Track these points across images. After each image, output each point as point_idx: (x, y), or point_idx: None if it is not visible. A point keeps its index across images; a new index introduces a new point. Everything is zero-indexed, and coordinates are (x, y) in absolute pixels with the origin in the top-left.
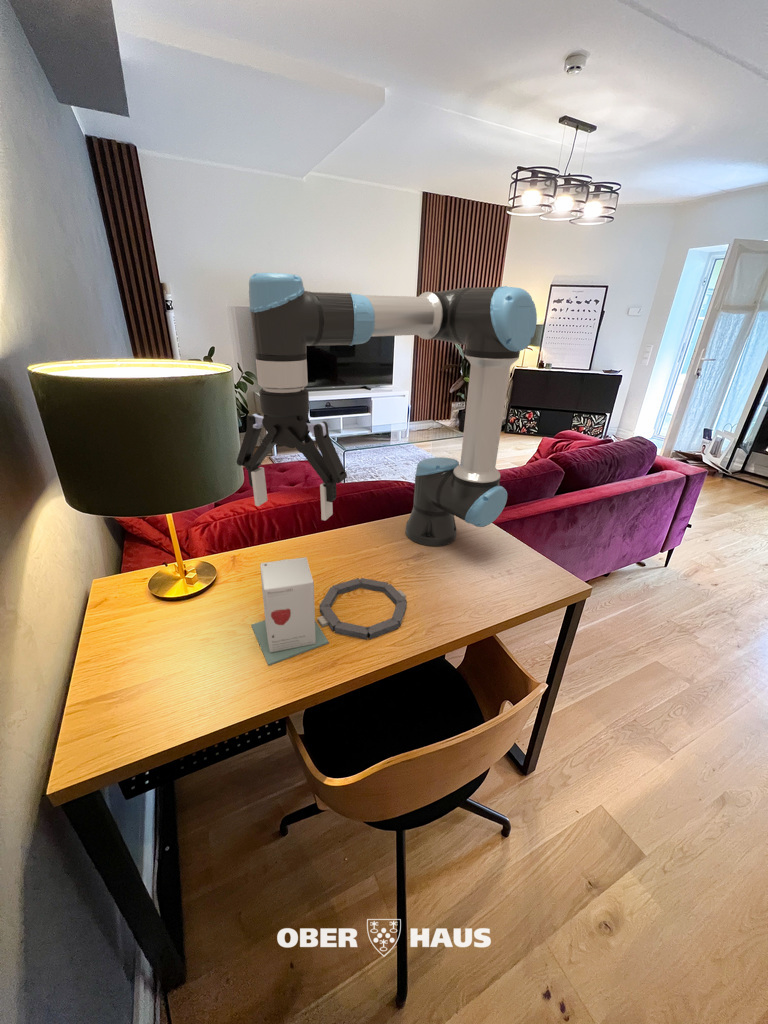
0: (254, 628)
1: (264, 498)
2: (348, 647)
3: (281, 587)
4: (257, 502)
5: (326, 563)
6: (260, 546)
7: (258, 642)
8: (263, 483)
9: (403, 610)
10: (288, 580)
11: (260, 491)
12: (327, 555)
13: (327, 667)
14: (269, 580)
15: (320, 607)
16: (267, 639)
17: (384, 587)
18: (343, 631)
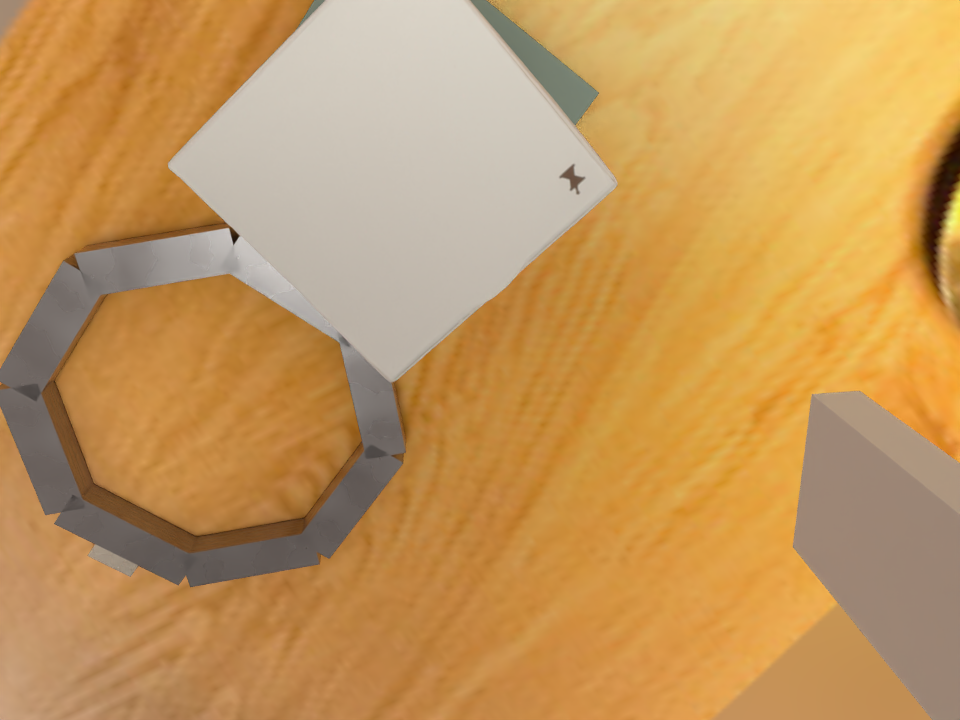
0: (568, 77)
1: (821, 530)
2: (130, 170)
3: (318, 9)
4: (847, 414)
5: (534, 591)
6: None
7: (501, 13)
8: (943, 682)
9: (25, 459)
10: (318, 92)
11: (900, 547)
12: (561, 639)
13: (137, 21)
14: (433, 29)
15: None
16: None
17: (188, 553)
18: (190, 232)
